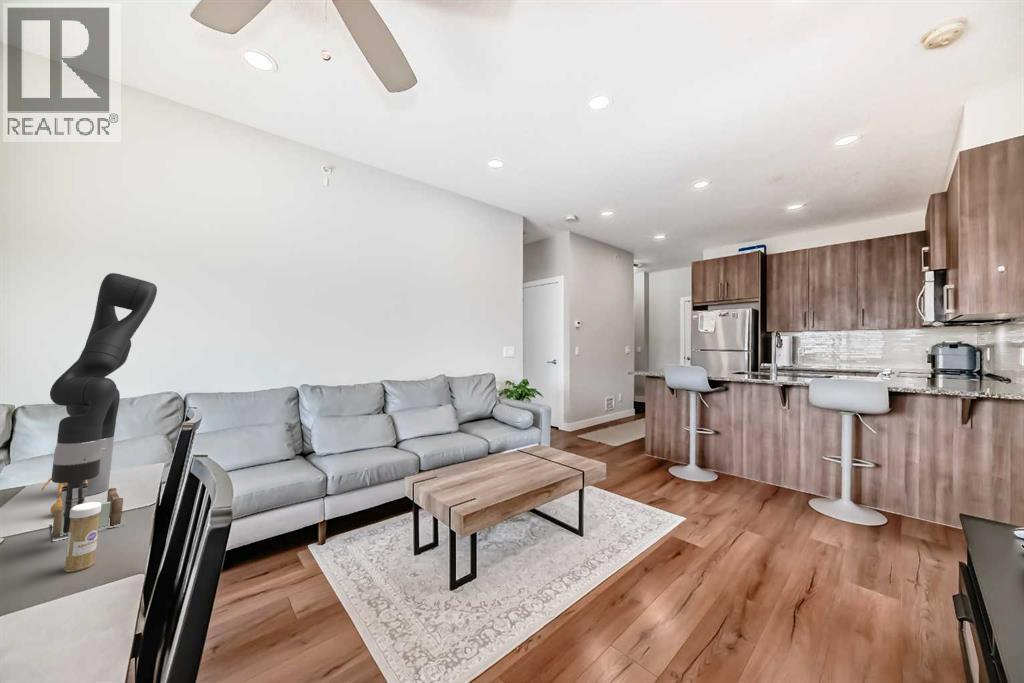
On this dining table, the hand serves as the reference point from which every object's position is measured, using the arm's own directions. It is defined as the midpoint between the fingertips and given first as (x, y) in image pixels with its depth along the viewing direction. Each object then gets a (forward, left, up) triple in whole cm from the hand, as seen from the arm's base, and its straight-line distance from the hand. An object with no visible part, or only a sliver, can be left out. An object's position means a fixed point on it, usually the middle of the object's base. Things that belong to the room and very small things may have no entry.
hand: (70, 531), depth 89 cm
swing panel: (-4, +5, -3) cm, 7 cm away
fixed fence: (-5, +12, -3) cm, 14 cm away
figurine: (-21, +12, -4) cm, 24 cm away
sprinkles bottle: (+12, -6, -4) cm, 14 cm away
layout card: (-7, +8, -3) cm, 11 cm away
